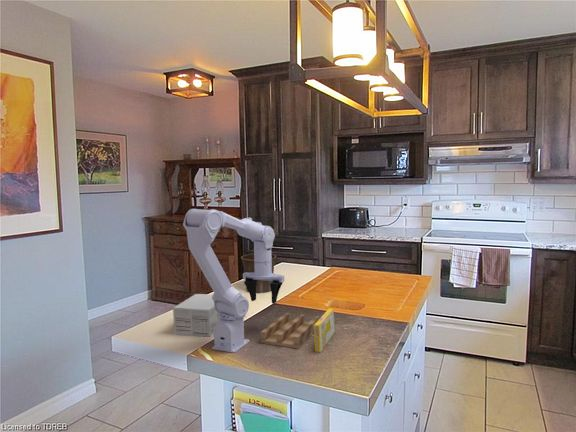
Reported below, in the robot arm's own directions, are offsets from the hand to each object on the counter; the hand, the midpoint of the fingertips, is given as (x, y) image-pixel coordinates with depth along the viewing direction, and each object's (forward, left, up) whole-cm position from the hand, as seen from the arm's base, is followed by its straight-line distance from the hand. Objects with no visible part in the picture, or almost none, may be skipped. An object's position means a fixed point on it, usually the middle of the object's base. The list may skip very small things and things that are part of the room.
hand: (263, 301), depth 134 cm
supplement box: (-4, +22, -10) cm, 25 cm away
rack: (0, -10, -10) cm, 14 cm away
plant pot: (+45, +25, -10) cm, 52 cm away
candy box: (-2, -22, -10) cm, 24 cm away
